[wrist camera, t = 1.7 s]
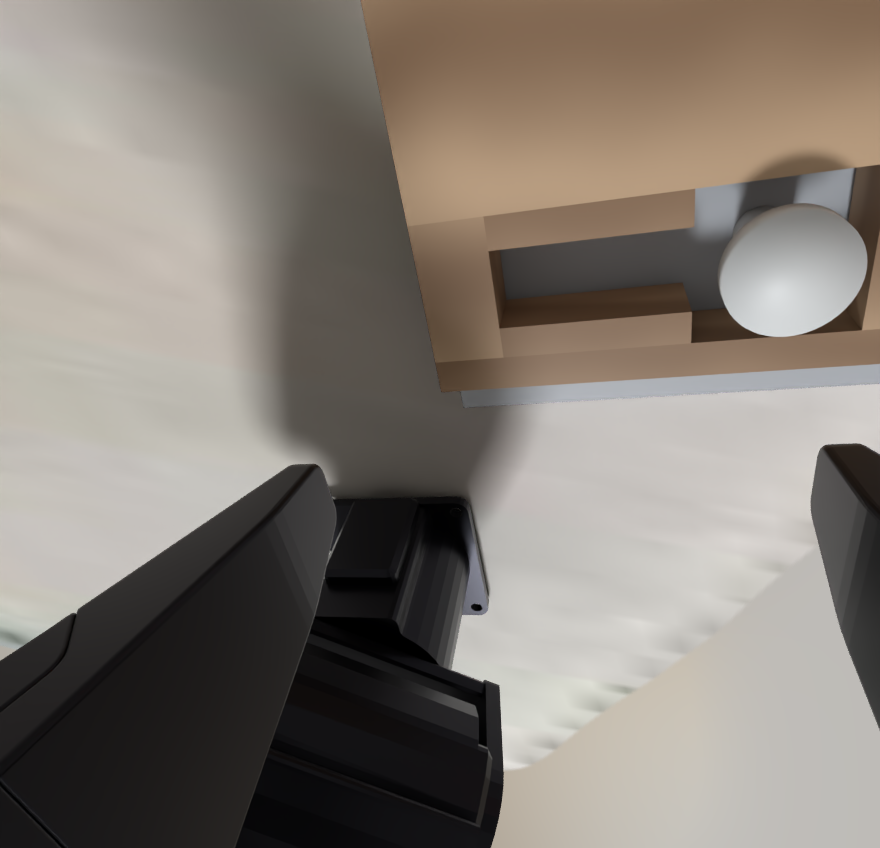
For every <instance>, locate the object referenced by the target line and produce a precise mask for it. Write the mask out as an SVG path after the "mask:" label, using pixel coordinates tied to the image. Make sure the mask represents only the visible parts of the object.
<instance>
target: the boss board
mask: <svg viewBox="0 0 880 848" xmlns="http://www.w3.org/2000/svg"><path fill="white" fill-rule="evenodd" d="M855 174H856V168H849V169H842V170H834V171H826V172H819V173H811V174H803V175H796V176H788V177H781V178H773V179H765V180H758V181H750V182H742V183H735V184H727V185H720V186H712V187H704V188H697V189H695V221H694V227H691V228H682V229H674V230H665V231H657V232H648V233H640V234H631V235H623V236H614V237H606V238H597V239H589V240H580V241H571V242H563V243H554V244H546V245H537V246H529V247H520V248H512V249H503V250H500V256H501V263H502V270H503V278H504V285H505V293H506V300H510V299H520V298H530V297H540V296H550V295H561V294H571V293H581V292H591V291H601V290H612V289H622V288H632V287H642V286H652V285H663V284H673V283H683V286H684V289H685V292H686V295H687V298H688V301H689V304H690V307H691V310H692V311H699V310H710V309H722V308H727V310H728V312H729V313H730V315H731V316H732V317H733V319H734V320H736V321H737V322H738V323H739V324H740V325H741V326H743V327H744V328H746V329H748V330H750V331H752V332H754V333H757V334H760V335H765V336H772V337H787V336H795V335H799V334H804V333H807V332H810V331H812V330H815V329H817V328H819V327H821V326H823V325H825V324H827V323H828V322H830V321H831V320H833V319H834V318H836V317H837V316H838V315H839V314H840V313H842V312H843V311H844V310H845V309H846V308H847V307H848V306H849V304H850V303H851V302H852V301H853V299H854V298H855V297H856V295H857V294H858V292H859V290H860V288H861V286H862V284H863V281H864V279H865V275H866V271H867V252H866V247H865V244H864V242H863V240H862V238H861V236H860V235H859V233H858V231H857V230H856V229H855V228H854V227H853V226H852V225H851V224H850V223H849V222H848V220H849V214H850V207H851V201H852V194H853V187H854V181H855ZM867 384H880V364H873V365H857V366H842V367H826V368H810V369H795V370H779V371H764V372H748V373H733V374H717V375H701V376H686V377H670V378H655V379H639V380H624V381H608V382H593V383H577V384H561V385H546V386H530V387H515V388H499V389H484V390H468V391H461V397H462V402H463V407H464V408H468V407H485V406H503V405H520V404H537V403H555V402H572V401H589V400H607V399H624V398H641V397H659V396H676V395H693V394H711V393H728V392H745V391H763V390H780V389H797V388H815V387H832V386H850V385H867Z"/></svg>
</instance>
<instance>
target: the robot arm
mask: <svg viewBox="0 0 880 848" xmlns="http://www.w3.org/2000/svg"><path fill="white" fill-rule="evenodd" d="M453 508H458V509H460V510H461V511H455V510H454V509H453ZM811 514H812V520H813V524H814V528H815V532H816V535H817V539H818V543H819V547H820V551H821V555H822V559H823V563H824V567H825V571H826V575H827V579H828V582H829V587H830V591H831V595H832V599H833V602H834V607H835V611H836V614H837V618H838V621H839V625H840V629H841V632H842V634H843V637H844V640H845V643H846V646H847V648H848V651H849V654H850V656H851V658H852V661H853V664H854V666H855V668H856V671H857V673H858V676H859V679H860V681H861V684H862V686H863V689H864V691H865V694H866V697H867V699H868V702H869V704H870V707H871V709H872V712H873V714H874V717H875V719H876V722H877V724H878V727H879V729H880V454H878V453H876V452H875V451H873V450H871V449H870V448H868V447H866V446H864V445H862V444H831V445H825V446H823V447H822V448H821V449H820V451H819V453H818V457H817V462H816V469H815V475H814V481H813V488H812V494H811ZM330 551H331V553H330ZM329 553H330V555H329ZM328 557H329V558H328ZM475 603H477V604H475ZM488 604H489V599H488V594H487V589H486V584H485V579H484V574H483V569H482V564H481V559H480V554H479V549H478V544H477V539H476V534H475V529H474V524H473V519H472V514H471V509H470V505H469V503H468V502H467V501H466V500H465V499H463V498H461V497H422V498H379V499H336V500H333V499H332V496H331V493H330V490H329V487H328V484H327V481H326V479H325V476H324V473H323V471H322V469H321V468H320V467H319V466H318V465H316V464H297V465H291V466H288V467H287V468H285V469H284V470H282V471H281V472H279V473H278V474H276V475H275V476H274V477H272V478H271V479H269V480H268V481H266V482H265V483H263V484H262V485H260V486H259V487H257V488H256V489H254V490H253V491H251V492H250V493H248V494H247V495H246V496H244V497H243V498H241V499H240V500H238V501H237V502H235V503H234V504H232V505H231V506H229V507H228V508H226V509H225V510H223V511H222V512H220V513H219V514H218V515H216V516H215V517H213V518H212V519H210V520H209V521H207V522H206V523H204V524H203V525H201V526H200V527H198V528H197V529H195V530H194V531H192V532H191V533H190V534H188V535H187V536H185V537H184V538H182V539H181V540H179V541H178V542H176V543H175V544H173V545H172V546H170V547H169V548H167V549H166V550H164V551H163V552H162V553H160V554H159V555H157V556H156V557H154V558H153V559H151V560H150V561H148V562H147V563H145V564H144V565H142V566H141V567H139V568H138V569H136V570H135V571H134V572H132V573H131V574H129V575H128V576H126V577H125V578H123V579H122V580H120V581H119V582H117V583H116V584H114V585H113V586H111V587H110V588H108V589H107V590H106V591H104V592H103V593H101V594H100V595H98V596H97V597H95V598H94V599H92V600H91V601H89V602H88V603H86V604H85V605H83V606H82V607H80V608H79V609H78V611H77V614H75V613H72V614H70V615H68V616H67V617H65V618H64V619H63V620H61V621H60V622H58V623H57V624H55V625H54V626H52V627H51V628H49V629H48V630H46V631H45V632H43V633H42V634H40V635H39V636H37V637H36V638H34V639H33V640H31V641H30V642H28V643H27V644H25V645H24V646H22V647H21V648H19V649H18V650H16V651H15V652H13V653H12V654H10V655H9V656H7V657H5V658H4V659H2V660H1V661H0V848H491V845H492V842H493V838H494V835H495V831H496V827H497V823H498V819H499V814H500V808H501V802H502V794H503V775H504V772H503V751H502V731H501V710H500V689H499V685H497V684H494V683H492V682H489V681H486V680H484V681H483V682H482V681H479V680H476V679H474V678H471V677H468V676H466V675H463V674H461V673H458V672H455V671H453V670H451V669H452V664H453V658H454V653H455V648H456V643H457V638H458V633H459V627H460V622H461V617H462V615H483V614H485V613H486V612H487V611H488Z"/></svg>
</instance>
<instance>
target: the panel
mask: <svg viewBox="0 0 880 848" xmlns="http://www.w3.org/2000/svg"><path fill="white" fill-rule="evenodd" d="M361 5H362V10H363V14H364V19H365V24H366V29H367V34H368V39H369V43H370V48H371V53H372V58H373V63H374V68H375V73H376V77H377V82H378V87H379V92H380V97H381V102H382V107H383V111H384V116H385V121H386V126H387V131H388V136H389V141H390V145H391V150H392V155H393V160H394V165H395V170H396V174H397V179H398V184H399V189H400V194H401V199H402V204H403V208H404V213H405V218H406V223H407V228H408V233H409V238H410V242H411V247H412V252H413V257H414V262H415V267H416V271H417V276H418V281H419V286H420V291H421V296H422V301H423V305H424V310H425V315H426V320H427V325H428V330H429V335H430V339H431V344H432V349H433V354H434V359H435V364H436V369H437V373H438V378H439V383H440V388H441V392H452V391H468V390H484V389H499V388H515V387H530V386H546V385H561V384H577V383H593V382H608V381H624V380H639V379H655V378H670V377H686V376H701V375H717V374H733V373H748V372H764V371H779V370H795V369H810V368H826V367H842V366H857V365H873V364H880V0H361ZM849 168H856V174H855V181H854V187H853V194H852V201H851V207H850V214H849V220H848V222H849V223H850V224H851V225H852V226H853V227H854V228H855V229H856V230H857V231H858V233H859V235H860V236H861V238H862V240H863V242H864V244H865V247H866V252H867V271H866V275H865V279H864V281H863V284H862V286H861V288H860V290H859V292H858V294H857V295H856V297H855V298H854V299H853V301H852V302H851V303H850V304H849V306H848V307H847V308H846V309H845V310H844V311H843V312H842V313H840V314H839V315H838V316H837V317H836V318H834V319H833V320H831V321H830V322H828V323H827V324H825V325H823V326H821V327H819V328H817V329H815V330H812V331H810V332H807V333H804V334H799V335H795V336H787V337H772V336H765V335H760V334H757V333H754V332H752V331H750V330H748V329H746V328H744V327H743V326H741V325H740V324H739V323H738V322H737V321H736V320H734V319H733V317H732V316H731V315H730V313H729V312H728V310H727V308H722V309H710V310H699V311H692V310H691V307H690V304H689V301H688V298H687V295H686V292H685V289H684V286H683V283H673V284H663V285H652V286H642V287H632V288H622V289H612V290H601V291H591V292H581V293H571V294H561V295H550V296H540V297H530V298H520V299H510V300H506V293H505V285H504V278H503V270H502V263H501V256H500V250H503V249H512V248H520V247H529V246H537V245H546V244H554V243H563V242H571V241H580V240H589V239H597V238H606V237H614V236H623V235H631V234H640V233H648V232H657V231H665V230H674V229H682V228H691V227H694V221H695V189H697V188H704V187H712V186H720V185H727V184H735V183H742V182H750V181H758V180H765V179H773V178H781V177H788V176H796V175H803V174H811V173H819V172H826V171H834V170H842V169H849Z"/></svg>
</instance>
